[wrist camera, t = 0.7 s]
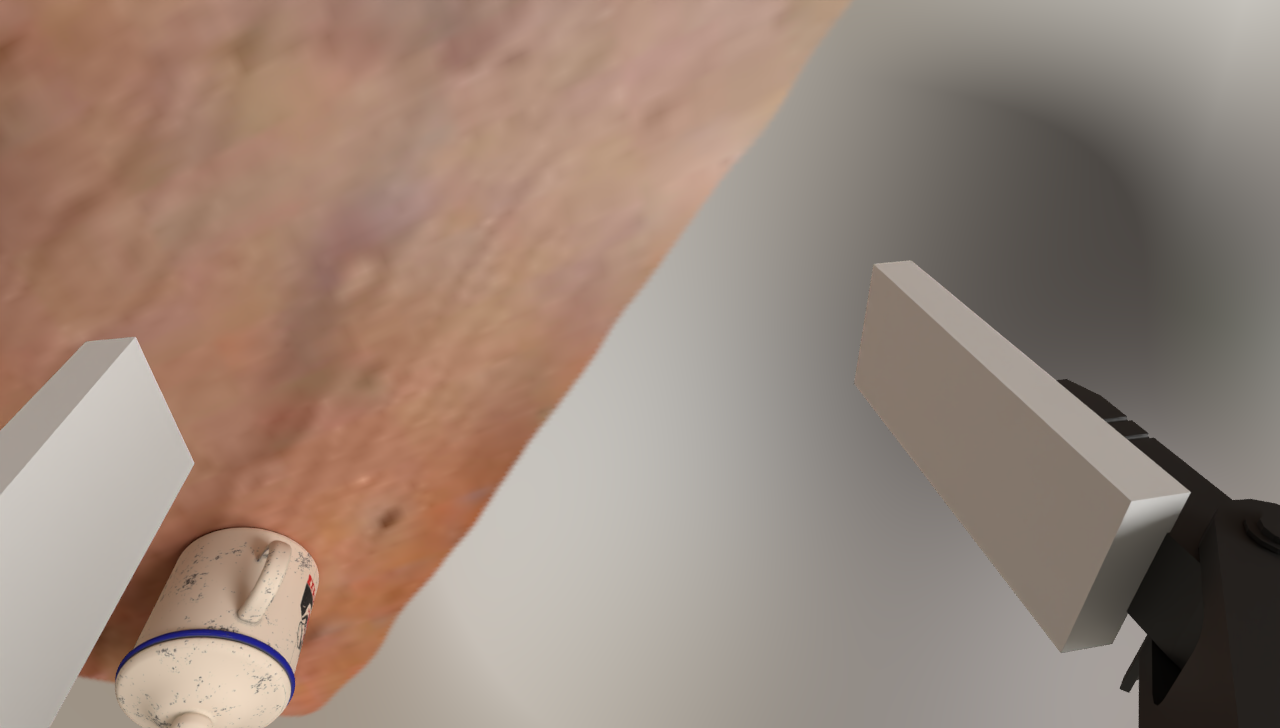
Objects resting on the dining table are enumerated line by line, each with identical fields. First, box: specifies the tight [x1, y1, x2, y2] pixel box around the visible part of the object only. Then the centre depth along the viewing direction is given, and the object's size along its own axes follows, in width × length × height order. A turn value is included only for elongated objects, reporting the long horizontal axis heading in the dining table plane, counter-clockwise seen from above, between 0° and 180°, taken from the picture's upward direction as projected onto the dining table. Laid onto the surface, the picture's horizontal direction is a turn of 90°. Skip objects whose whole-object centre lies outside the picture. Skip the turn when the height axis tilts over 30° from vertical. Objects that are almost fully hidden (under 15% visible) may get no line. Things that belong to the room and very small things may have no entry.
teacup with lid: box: [115, 527, 319, 728], centre depth 42 cm, size 12×9×12 cm
